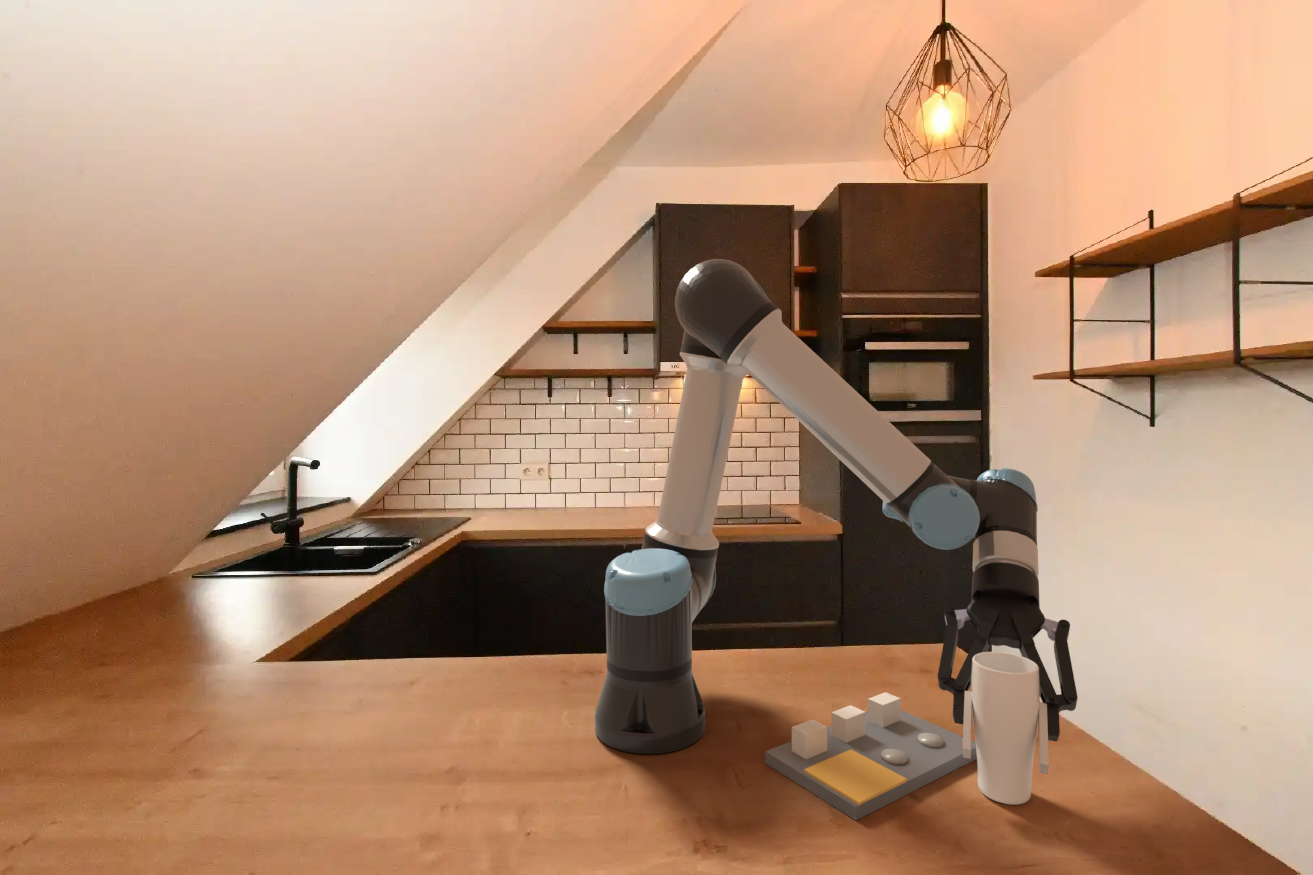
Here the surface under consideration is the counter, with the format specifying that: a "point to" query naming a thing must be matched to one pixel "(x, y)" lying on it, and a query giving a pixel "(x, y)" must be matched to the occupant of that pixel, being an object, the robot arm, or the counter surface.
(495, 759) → the counter surface
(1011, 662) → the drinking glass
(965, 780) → the counter surface
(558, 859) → the counter surface
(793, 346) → the robot arm
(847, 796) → the game board
